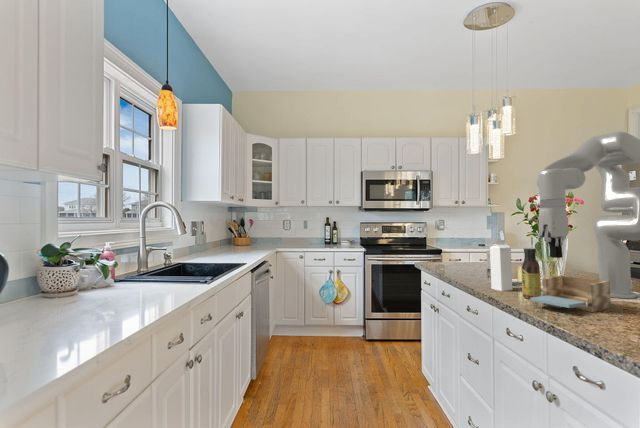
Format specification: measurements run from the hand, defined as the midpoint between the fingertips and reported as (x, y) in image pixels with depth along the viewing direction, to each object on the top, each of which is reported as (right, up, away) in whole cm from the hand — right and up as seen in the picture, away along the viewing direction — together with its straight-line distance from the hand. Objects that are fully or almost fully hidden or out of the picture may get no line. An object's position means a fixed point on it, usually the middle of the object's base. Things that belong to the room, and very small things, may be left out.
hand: (556, 257), depth 117 cm
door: (0, -16, -1) cm, 16 cm away
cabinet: (+10, -18, +4) cm, 21 cm away
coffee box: (+5, -19, +46) cm, 50 cm away
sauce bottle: (+1, -18, +16) cm, 24 cm away
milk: (-1, -19, +34) cm, 38 cm away
